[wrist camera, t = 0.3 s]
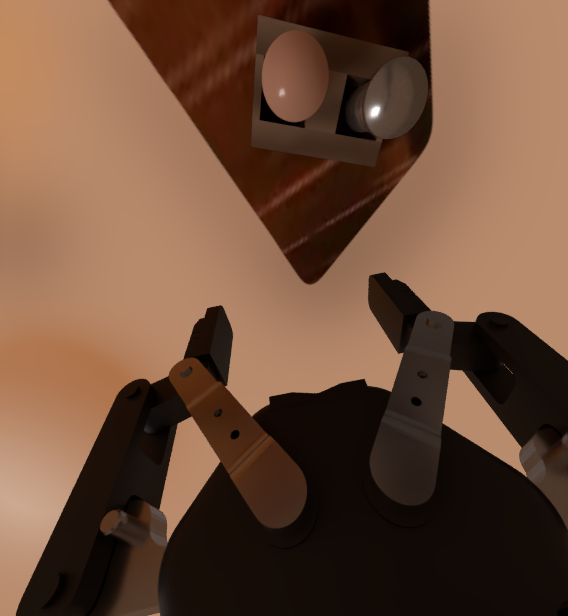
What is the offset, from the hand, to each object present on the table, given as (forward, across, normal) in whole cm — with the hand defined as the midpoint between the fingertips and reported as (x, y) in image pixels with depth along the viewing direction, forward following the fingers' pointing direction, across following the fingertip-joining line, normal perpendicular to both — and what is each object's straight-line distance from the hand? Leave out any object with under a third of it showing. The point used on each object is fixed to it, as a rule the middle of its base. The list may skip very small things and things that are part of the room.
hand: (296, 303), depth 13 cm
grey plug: (+22, -11, -8) cm, 26 cm away
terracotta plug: (+22, -3, -10) cm, 25 cm away
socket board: (+28, -7, -9) cm, 30 cm away
